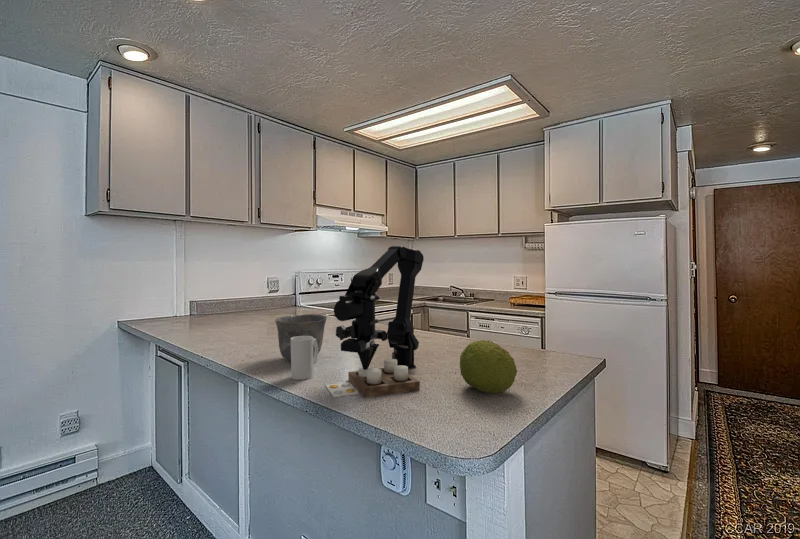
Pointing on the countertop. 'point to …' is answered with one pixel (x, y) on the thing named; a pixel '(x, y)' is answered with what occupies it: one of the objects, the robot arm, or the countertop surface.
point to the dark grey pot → (299, 331)
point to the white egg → (362, 372)
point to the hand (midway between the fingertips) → (365, 369)
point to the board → (383, 384)
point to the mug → (303, 357)
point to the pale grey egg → (389, 365)
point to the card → (342, 389)
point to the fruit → (487, 367)
